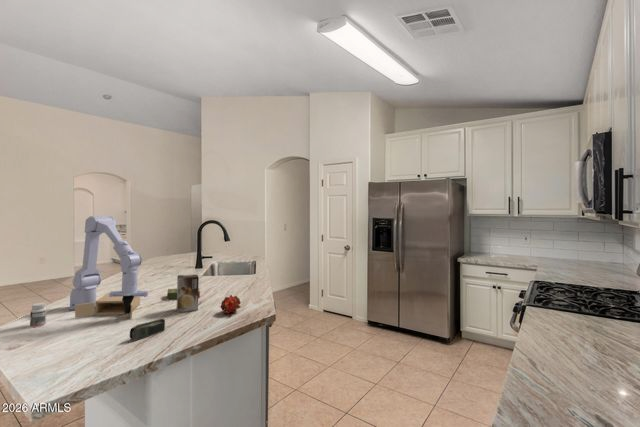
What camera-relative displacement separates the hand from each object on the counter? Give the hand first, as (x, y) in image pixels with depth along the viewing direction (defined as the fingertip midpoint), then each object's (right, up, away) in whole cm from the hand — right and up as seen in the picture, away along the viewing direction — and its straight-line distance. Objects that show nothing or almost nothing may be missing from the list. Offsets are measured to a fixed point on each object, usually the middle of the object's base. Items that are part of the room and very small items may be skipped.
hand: (128, 312), depth 140 cm
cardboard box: (-10, -1, +10) cm, 14 cm away
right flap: (+1, -2, +1) cm, 2 cm away
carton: (+9, -2, +34) cm, 36 cm away
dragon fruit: (+41, -4, +12) cm, 43 cm away
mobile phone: (+18, -4, -18) cm, 25 cm away
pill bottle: (-28, -1, -13) cm, 31 cm away
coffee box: (+20, -3, +14) cm, 24 cm away
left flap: (-18, -1, -2) cm, 18 cm away
